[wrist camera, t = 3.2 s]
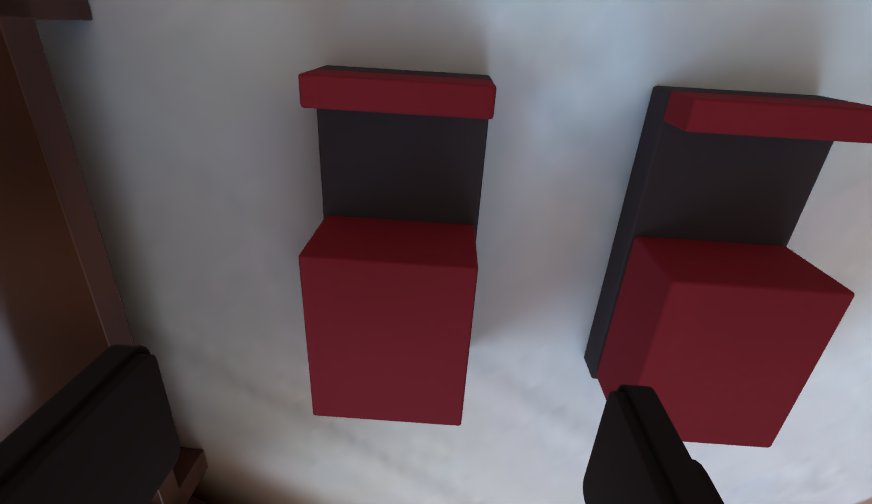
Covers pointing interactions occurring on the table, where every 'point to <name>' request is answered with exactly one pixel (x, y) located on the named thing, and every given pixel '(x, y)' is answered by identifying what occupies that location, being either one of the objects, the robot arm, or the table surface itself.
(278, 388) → the table surface
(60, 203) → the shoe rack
